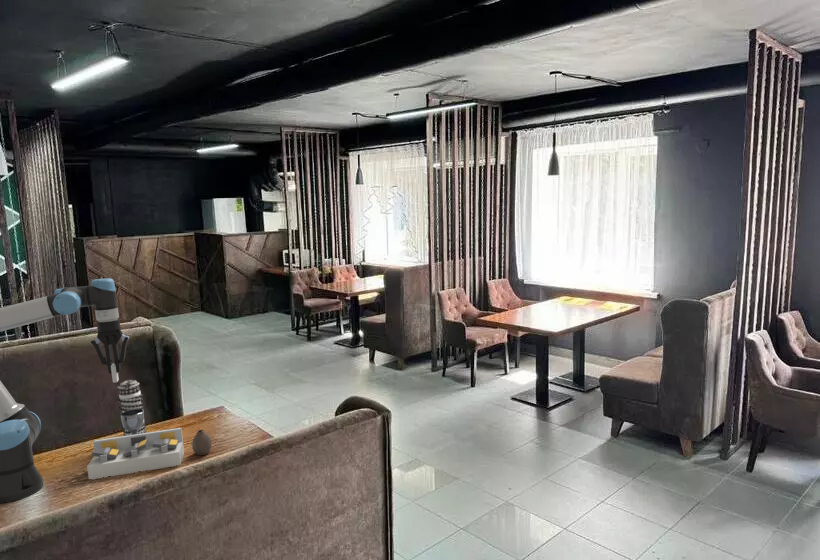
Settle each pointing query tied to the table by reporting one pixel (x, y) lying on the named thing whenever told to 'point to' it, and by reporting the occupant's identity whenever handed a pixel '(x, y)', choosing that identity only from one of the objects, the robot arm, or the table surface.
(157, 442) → the switch right
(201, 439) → the vase
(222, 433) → the table surface
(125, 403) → the decorative candle
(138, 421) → the wine glass
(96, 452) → the switch left
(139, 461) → the switch unit
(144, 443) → the switch middle
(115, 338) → the robot arm
